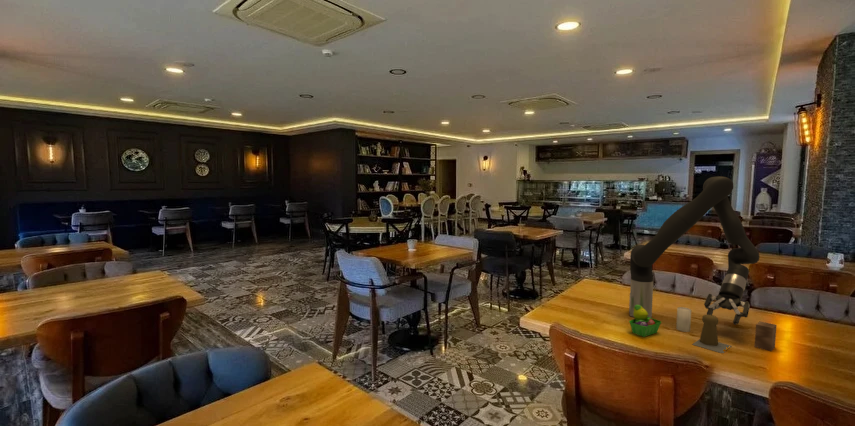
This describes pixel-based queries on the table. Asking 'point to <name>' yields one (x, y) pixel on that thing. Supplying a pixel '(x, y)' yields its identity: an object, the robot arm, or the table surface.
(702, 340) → the cork
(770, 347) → the walnut block
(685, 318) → the cream block
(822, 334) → the table surface
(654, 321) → the fruit basket
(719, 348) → the grey flat sheet
